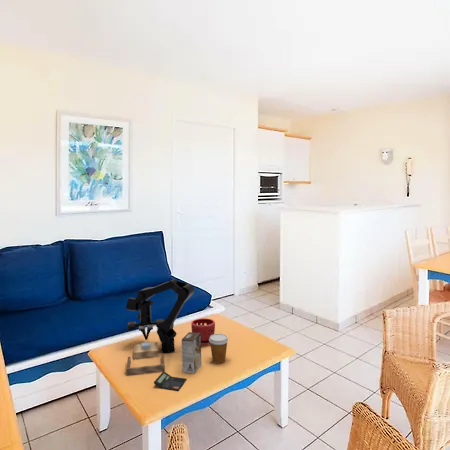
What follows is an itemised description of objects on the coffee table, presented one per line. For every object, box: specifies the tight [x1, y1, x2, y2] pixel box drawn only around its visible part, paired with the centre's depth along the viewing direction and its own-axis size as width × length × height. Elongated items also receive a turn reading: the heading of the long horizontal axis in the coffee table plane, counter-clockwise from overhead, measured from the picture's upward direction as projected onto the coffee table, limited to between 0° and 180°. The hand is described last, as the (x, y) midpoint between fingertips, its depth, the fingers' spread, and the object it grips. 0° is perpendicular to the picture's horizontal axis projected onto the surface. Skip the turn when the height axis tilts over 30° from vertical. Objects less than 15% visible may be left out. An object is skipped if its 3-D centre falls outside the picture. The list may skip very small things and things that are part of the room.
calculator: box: [153, 371, 188, 392], centre depth 155 cm, size 9×12×3 cm
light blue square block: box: [141, 341, 151, 350], centre depth 183 cm, size 4×4×2 cm
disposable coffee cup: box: [209, 333, 229, 364], centre depth 176 cm, size 10×10×12 cm
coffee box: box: [181, 331, 202, 374], centre depth 168 cm, size 9×6×16 cm
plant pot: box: [190, 317, 216, 347], centre depth 197 cm, size 13×13×12 cm
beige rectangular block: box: [133, 341, 159, 360], centre depth 184 cm, size 12×10×4 cm
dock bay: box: [125, 352, 166, 377], centre depth 170 cm, size 17×13×3 cm
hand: (146, 339), depth 192 cm, fingers closed
